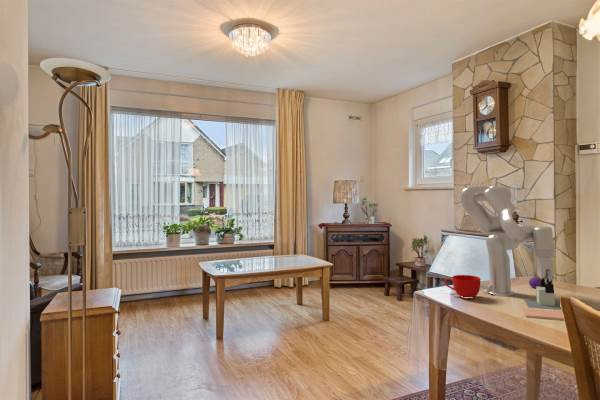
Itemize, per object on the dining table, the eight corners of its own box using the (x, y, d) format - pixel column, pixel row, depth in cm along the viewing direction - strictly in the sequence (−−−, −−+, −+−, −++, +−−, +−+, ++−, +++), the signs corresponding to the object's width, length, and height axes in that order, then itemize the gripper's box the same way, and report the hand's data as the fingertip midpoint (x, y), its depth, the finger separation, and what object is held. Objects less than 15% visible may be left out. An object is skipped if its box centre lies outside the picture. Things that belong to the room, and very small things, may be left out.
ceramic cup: (447, 292, 194) (447, 273, 194) (482, 295, 184) (482, 276, 184) (442, 298, 183) (441, 278, 183) (479, 302, 173) (478, 281, 173)
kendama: (544, 275, 208) (542, 279, 192) (542, 285, 208) (540, 290, 192) (532, 272, 212) (529, 276, 196) (530, 282, 212) (527, 287, 196)
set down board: (526, 317, 150) (525, 315, 150) (522, 310, 159) (522, 308, 159) (566, 320, 144) (566, 318, 144) (560, 313, 153) (560, 311, 153)
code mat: (528, 308, 162) (528, 307, 162) (523, 300, 174) (523, 299, 174) (572, 311, 155) (572, 310, 155) (563, 302, 168) (563, 302, 168)
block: (539, 304, 165) (538, 289, 165) (536, 301, 170) (536, 286, 170) (554, 305, 163) (554, 290, 163) (551, 302, 168) (551, 287, 168)
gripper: (531, 251, 176) (534, 286, 175) (538, 255, 160) (541, 294, 159) (549, 251, 173) (552, 287, 172) (558, 255, 157) (562, 295, 156)
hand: (547, 290), depth 166 cm, fingers open, 9 cm apart
